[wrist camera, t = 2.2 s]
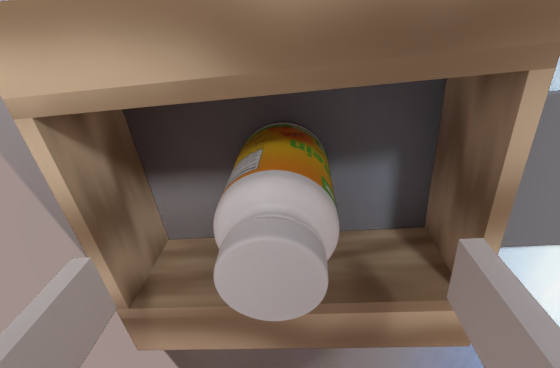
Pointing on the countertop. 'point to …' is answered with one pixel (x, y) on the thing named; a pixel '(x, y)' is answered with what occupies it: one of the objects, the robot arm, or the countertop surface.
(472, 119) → the wooden frame
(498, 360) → the robot arm
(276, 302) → the supplement bottle
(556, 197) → the mat
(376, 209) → the countertop surface
